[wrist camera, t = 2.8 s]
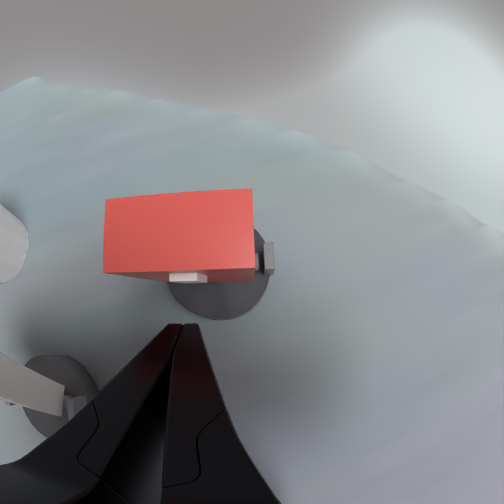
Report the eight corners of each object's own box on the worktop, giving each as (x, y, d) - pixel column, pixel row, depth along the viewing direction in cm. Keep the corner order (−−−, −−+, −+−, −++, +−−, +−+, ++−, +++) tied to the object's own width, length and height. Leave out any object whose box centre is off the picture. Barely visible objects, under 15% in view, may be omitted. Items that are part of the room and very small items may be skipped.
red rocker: (259, 284, 17) (268, 276, 8) (176, 287, 17) (93, 281, 8) (257, 244, 17) (263, 188, 8) (175, 248, 17) (96, 200, 8)
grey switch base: (105, 442, 16) (80, 457, 13) (38, 426, 16) (10, 435, 13) (98, 359, 18) (70, 361, 15) (32, 351, 18) (1, 350, 15)
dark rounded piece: (273, 318, 19) (277, 314, 15) (172, 320, 19) (155, 317, 15) (267, 224, 20) (270, 201, 17) (173, 229, 20) (158, 207, 17)
